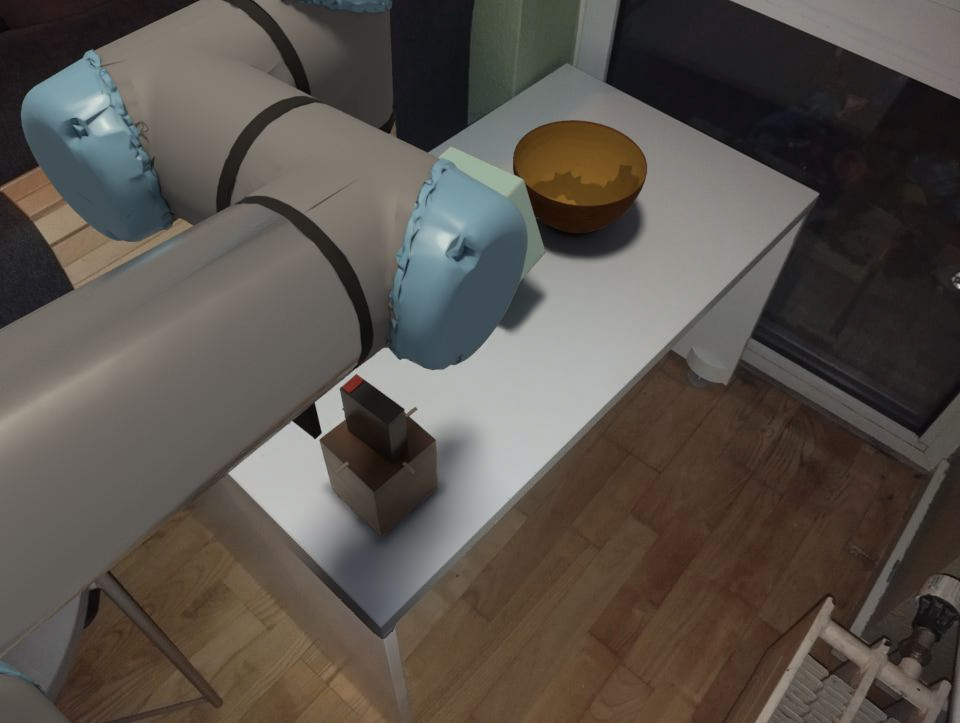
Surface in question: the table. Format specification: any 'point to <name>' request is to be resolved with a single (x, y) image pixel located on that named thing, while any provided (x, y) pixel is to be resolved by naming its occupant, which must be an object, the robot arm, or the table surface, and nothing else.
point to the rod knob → (374, 418)
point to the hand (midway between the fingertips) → (366, 376)
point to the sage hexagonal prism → (507, 187)
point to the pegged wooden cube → (381, 474)
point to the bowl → (579, 174)
